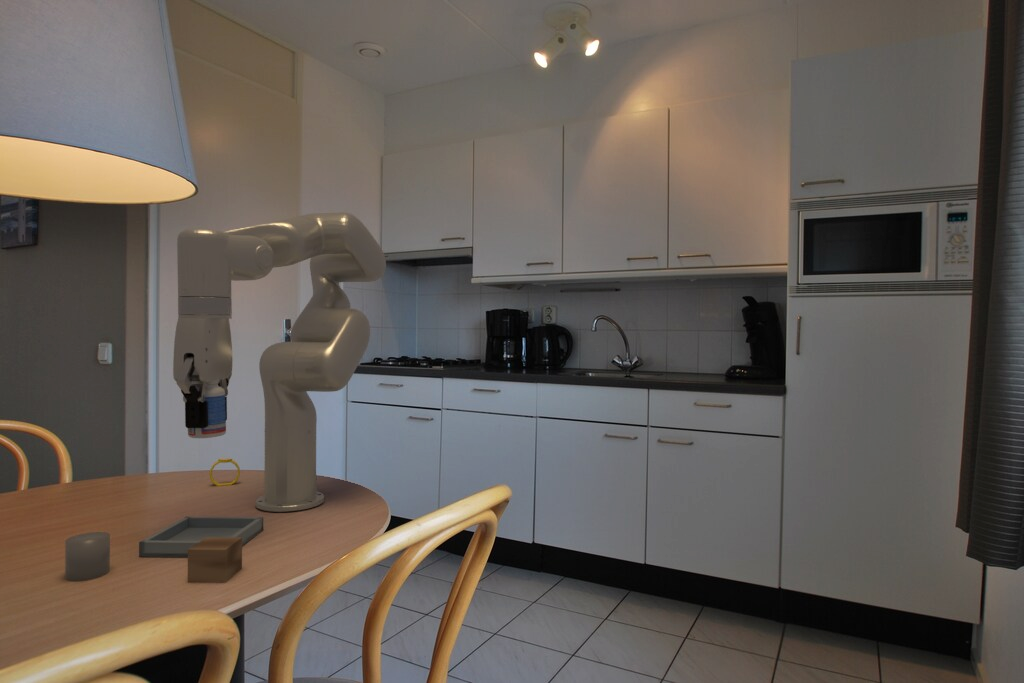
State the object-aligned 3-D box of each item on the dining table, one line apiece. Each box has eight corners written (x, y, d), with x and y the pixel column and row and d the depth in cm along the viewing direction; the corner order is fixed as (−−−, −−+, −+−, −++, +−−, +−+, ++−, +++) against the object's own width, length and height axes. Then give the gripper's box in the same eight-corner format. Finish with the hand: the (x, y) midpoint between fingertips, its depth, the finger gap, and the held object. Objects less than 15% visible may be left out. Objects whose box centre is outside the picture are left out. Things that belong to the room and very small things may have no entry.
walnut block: (206, 569, 86) (206, 537, 86) (241, 569, 86) (242, 537, 86) (187, 583, 81) (187, 549, 81) (225, 583, 81) (225, 549, 81)
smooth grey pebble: (82, 567, 86) (82, 531, 86) (117, 567, 86) (118, 532, 86) (55, 581, 81) (56, 543, 81) (93, 581, 81) (93, 544, 81)
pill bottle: (231, 432, 99) (230, 372, 99) (217, 438, 94) (216, 375, 93) (197, 432, 99) (196, 372, 99) (180, 439, 94) (179, 375, 93)
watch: (238, 483, 137) (241, 457, 137) (238, 486, 134) (241, 459, 134) (209, 484, 134) (211, 457, 135) (208, 487, 132) (210, 459, 132)
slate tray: (186, 529, 103) (186, 516, 103) (263, 530, 103) (263, 517, 103) (138, 557, 90) (139, 542, 90) (227, 557, 90) (227, 543, 90)
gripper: (208, 310, 104) (210, 416, 105) (148, 308, 87) (151, 434, 88) (252, 310, 104) (253, 416, 105) (201, 308, 87) (203, 434, 88)
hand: (206, 423), depth 96 cm, fingers closed on pill bottle, 5 cm apart
